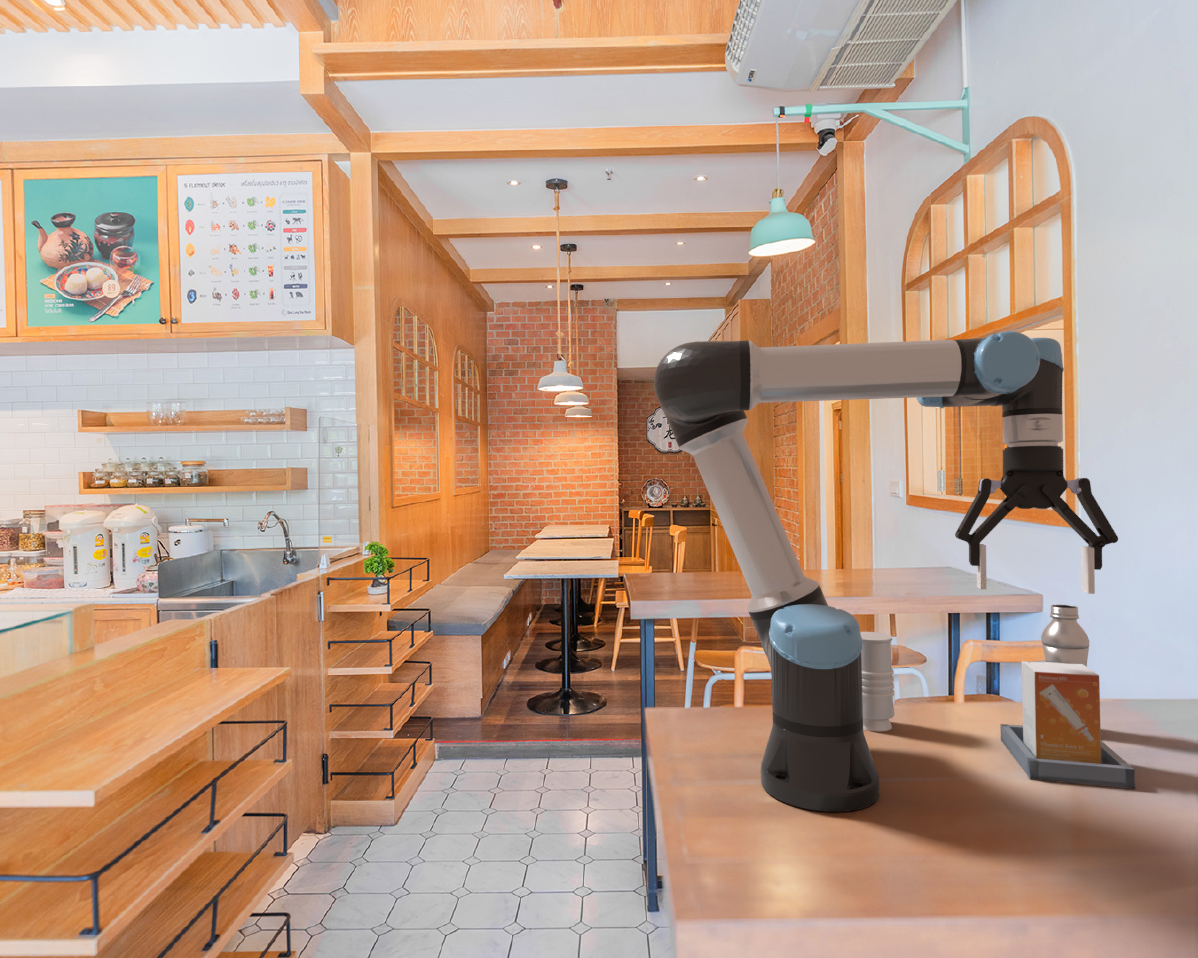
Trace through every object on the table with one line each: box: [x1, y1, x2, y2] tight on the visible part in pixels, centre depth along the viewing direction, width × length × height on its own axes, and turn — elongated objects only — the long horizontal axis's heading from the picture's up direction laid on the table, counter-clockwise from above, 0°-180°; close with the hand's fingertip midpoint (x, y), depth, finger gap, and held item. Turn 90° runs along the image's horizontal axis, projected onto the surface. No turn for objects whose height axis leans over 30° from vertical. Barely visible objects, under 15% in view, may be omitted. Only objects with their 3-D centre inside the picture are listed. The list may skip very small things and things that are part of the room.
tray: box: [999, 723, 1136, 789], centre depth 98 cm, size 12×15×2 cm
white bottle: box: [860, 631, 895, 732], centre depth 115 cm, size 7×7×15 cm
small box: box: [1021, 660, 1102, 764], centre depth 98 cm, size 8×6×13 cm
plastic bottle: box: [1040, 604, 1090, 667], centre depth 111 cm, size 6×7×20 cm
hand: (1033, 590), depth 100 cm, fingers open, 13 cm apart
